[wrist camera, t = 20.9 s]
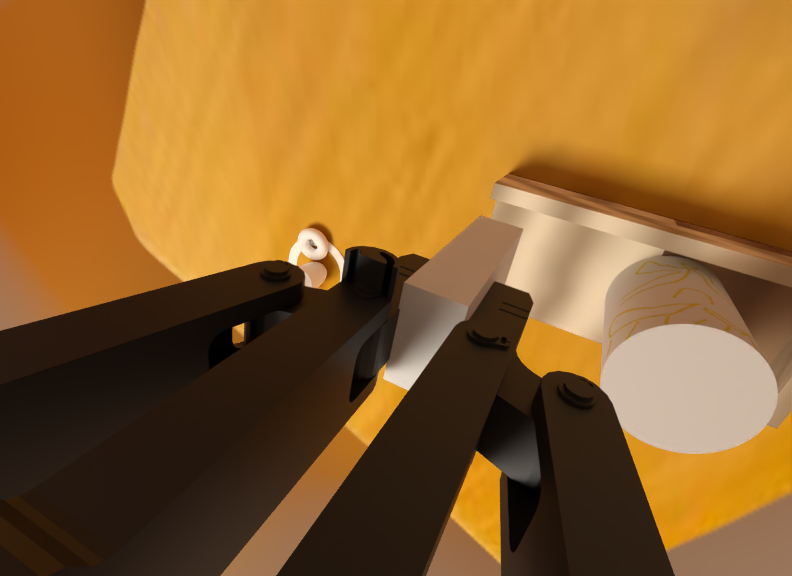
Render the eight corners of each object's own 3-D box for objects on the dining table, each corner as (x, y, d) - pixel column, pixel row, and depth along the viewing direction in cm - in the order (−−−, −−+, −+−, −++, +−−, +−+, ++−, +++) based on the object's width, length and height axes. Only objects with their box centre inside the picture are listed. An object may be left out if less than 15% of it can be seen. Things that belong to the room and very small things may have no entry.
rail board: (474, 287, 43) (458, 307, 38) (508, 173, 38) (494, 182, 33) (757, 389, 35) (776, 428, 31) (847, 266, 30) (883, 293, 26)
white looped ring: (308, 215, 48) (285, 223, 45) (365, 259, 47) (345, 271, 44) (282, 273, 53) (259, 285, 49) (333, 315, 52) (313, 330, 48)
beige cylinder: (732, 254, 31) (787, 327, 21) (722, 356, 34) (768, 465, 24) (604, 257, 35) (599, 321, 25) (604, 349, 37) (600, 441, 27)
